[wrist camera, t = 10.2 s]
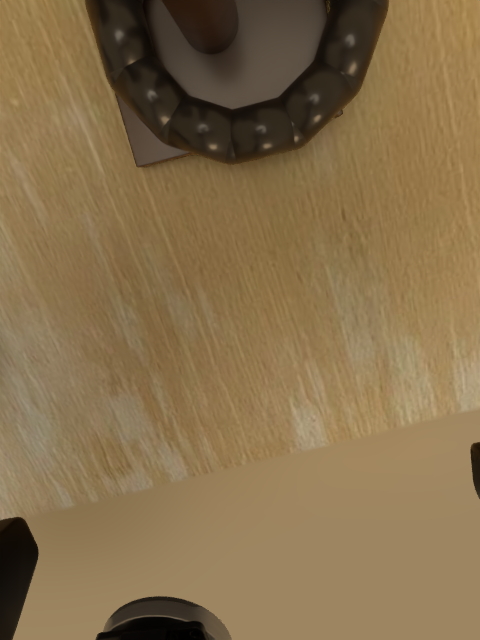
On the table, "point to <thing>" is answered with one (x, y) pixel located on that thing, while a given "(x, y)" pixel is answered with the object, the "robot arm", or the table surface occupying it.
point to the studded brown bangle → (248, 121)
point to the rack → (226, 55)
